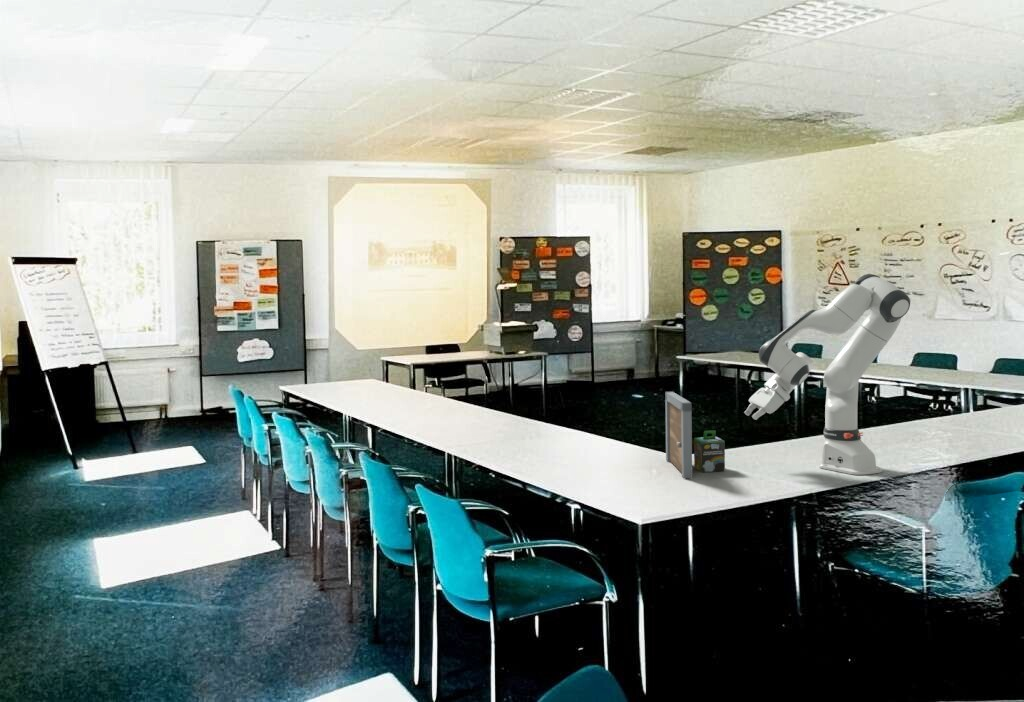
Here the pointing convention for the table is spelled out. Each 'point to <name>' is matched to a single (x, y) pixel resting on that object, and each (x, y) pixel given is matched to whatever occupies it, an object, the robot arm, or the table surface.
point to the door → (675, 437)
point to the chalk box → (709, 453)
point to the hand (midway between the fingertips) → (749, 416)
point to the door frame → (685, 430)
